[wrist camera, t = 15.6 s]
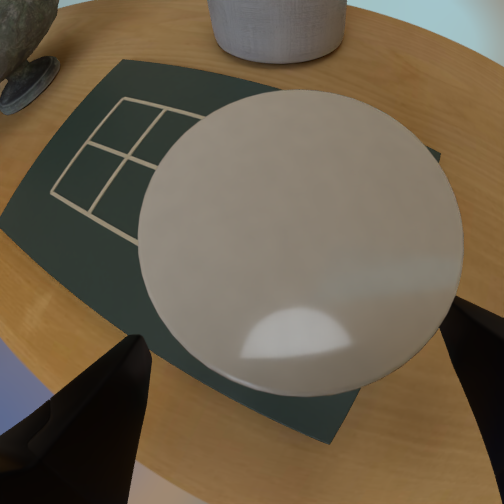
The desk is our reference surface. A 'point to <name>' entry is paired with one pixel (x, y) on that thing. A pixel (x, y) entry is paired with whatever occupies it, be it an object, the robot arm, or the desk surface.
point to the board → (134, 214)
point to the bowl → (24, 51)
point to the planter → (278, 28)
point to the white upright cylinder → (300, 243)
